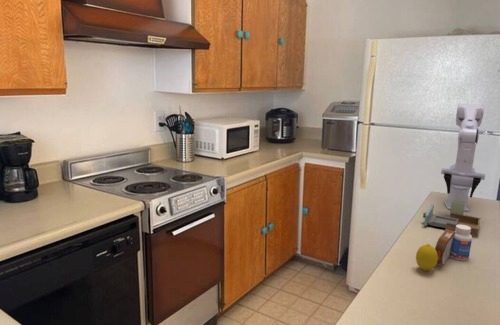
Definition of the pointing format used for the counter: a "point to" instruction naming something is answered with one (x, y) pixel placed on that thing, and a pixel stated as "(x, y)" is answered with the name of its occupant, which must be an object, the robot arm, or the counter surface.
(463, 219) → the brown shallow rectangular box
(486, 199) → the counter surface
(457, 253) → the pill bottle
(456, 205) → the block
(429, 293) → the counter surface
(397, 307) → the counter surface
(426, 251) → the lemon
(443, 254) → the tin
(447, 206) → the robot arm
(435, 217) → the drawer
